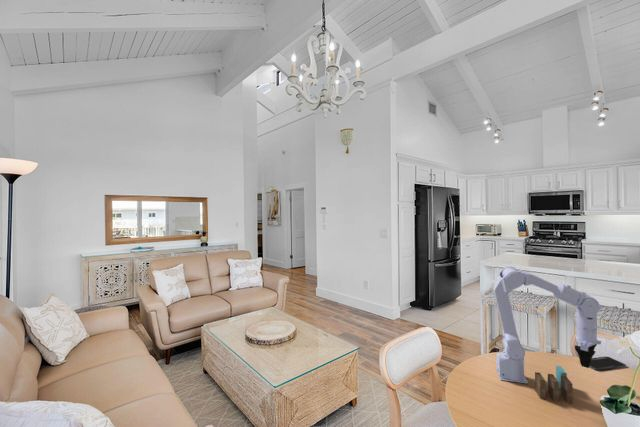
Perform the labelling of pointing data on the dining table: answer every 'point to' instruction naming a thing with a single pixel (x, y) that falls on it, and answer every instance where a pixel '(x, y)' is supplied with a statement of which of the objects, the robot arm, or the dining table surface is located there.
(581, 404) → the dining table surface
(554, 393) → the domino
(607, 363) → the phone
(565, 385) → the domino
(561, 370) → the domino teal placed
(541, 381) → the domino
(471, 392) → the dining table surface
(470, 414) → the dining table surface
